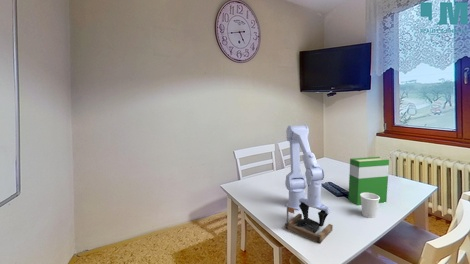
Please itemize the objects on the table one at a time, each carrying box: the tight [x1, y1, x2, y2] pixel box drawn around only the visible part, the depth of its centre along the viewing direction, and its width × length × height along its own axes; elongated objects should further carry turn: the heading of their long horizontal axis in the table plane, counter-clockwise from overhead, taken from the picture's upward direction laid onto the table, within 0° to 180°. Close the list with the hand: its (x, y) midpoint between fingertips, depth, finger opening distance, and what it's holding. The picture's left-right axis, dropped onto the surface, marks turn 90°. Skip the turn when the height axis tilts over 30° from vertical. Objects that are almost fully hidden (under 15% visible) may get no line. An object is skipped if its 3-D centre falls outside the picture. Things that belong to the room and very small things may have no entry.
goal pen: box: [284, 206, 334, 244], centre depth 100 cm, size 12×16×10 cm
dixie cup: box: [360, 193, 380, 219], centre depth 112 cm, size 8×8×10 cm
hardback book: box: [348, 156, 390, 207], centre depth 126 cm, size 18×7×24 cm, turn 99°
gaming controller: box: [296, 216, 320, 234], centre depth 103 cm, size 10×5×6 cm
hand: (313, 222), depth 104 cm, fingers open, 7 cm apart
